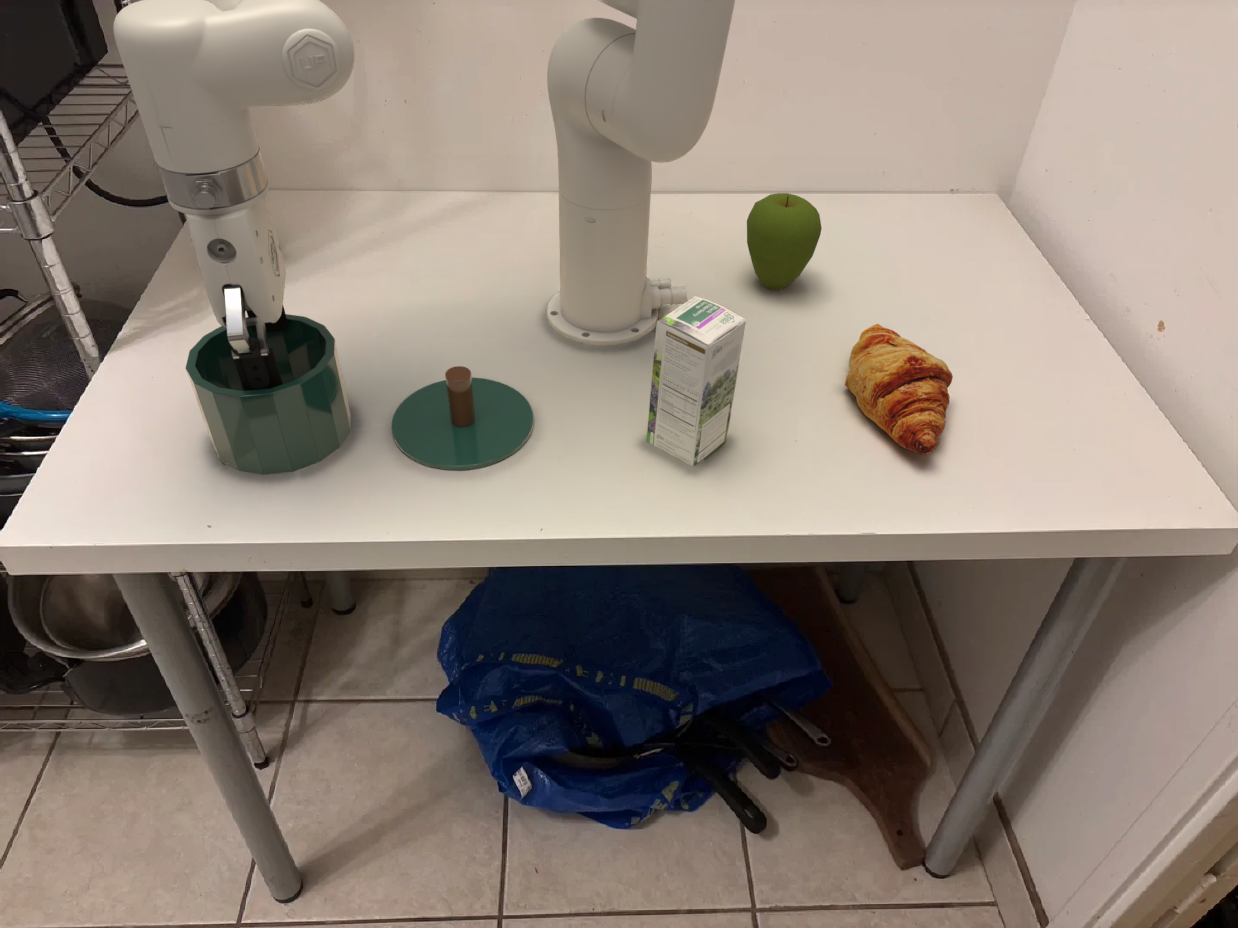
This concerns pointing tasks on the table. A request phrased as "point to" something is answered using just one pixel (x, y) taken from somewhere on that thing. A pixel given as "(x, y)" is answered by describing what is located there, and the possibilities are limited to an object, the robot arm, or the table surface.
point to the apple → (782, 238)
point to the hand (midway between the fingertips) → (267, 358)
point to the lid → (462, 422)
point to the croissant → (900, 387)
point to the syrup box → (694, 379)
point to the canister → (273, 400)
